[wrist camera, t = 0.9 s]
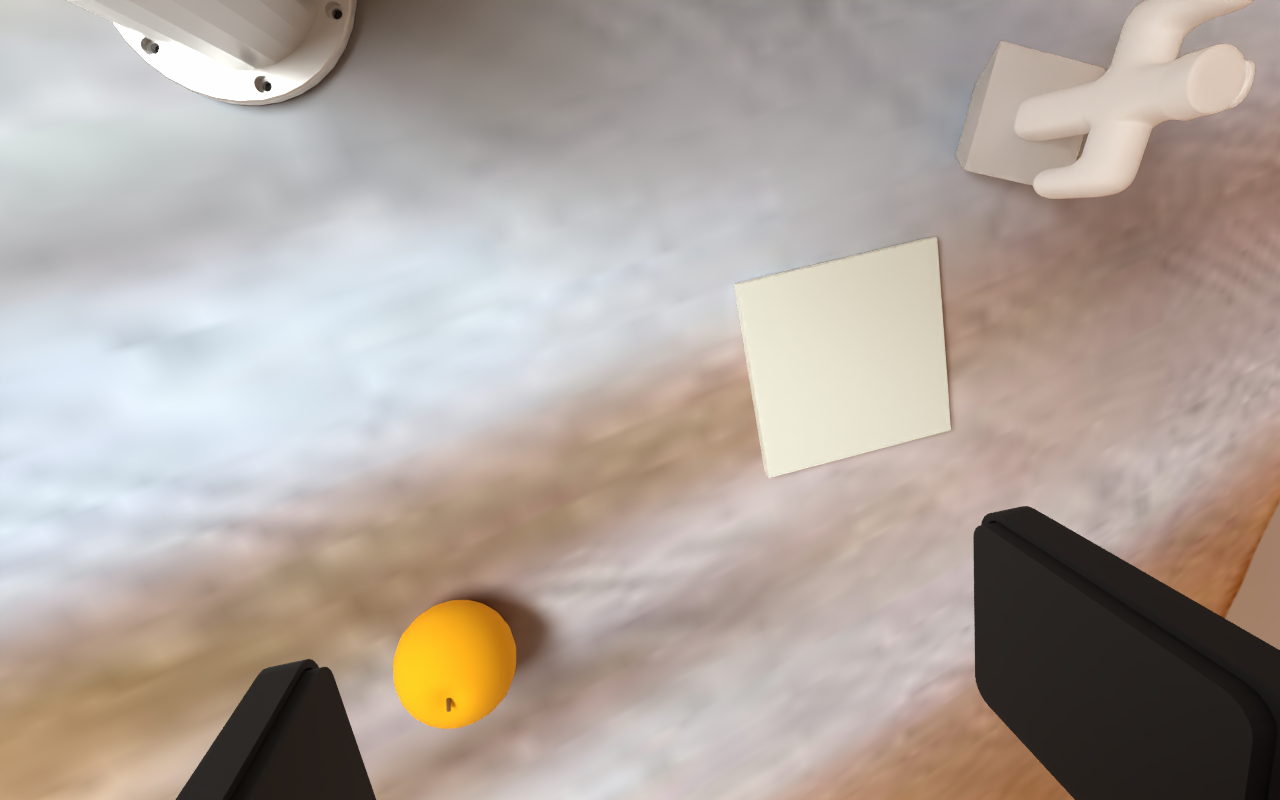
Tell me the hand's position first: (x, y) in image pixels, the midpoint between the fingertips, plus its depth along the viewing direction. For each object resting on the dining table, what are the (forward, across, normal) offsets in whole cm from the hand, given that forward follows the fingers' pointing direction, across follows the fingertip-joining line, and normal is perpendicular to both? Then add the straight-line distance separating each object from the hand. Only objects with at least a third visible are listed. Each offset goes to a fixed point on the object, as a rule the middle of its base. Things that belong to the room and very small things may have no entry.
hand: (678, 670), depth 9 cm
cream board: (+34, -18, +6) cm, 39 cm away
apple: (+34, +12, +20) cm, 42 cm away
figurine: (+34, -29, -8) cm, 46 cm away
